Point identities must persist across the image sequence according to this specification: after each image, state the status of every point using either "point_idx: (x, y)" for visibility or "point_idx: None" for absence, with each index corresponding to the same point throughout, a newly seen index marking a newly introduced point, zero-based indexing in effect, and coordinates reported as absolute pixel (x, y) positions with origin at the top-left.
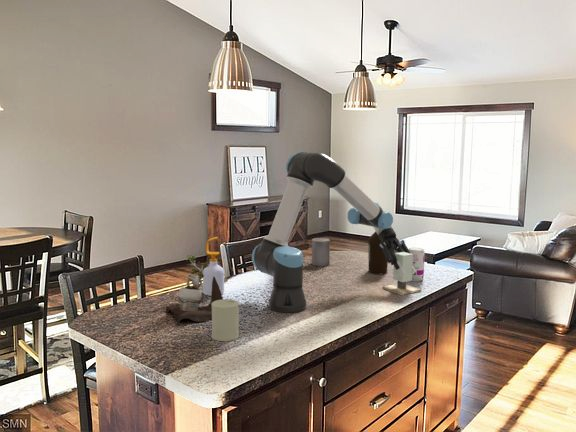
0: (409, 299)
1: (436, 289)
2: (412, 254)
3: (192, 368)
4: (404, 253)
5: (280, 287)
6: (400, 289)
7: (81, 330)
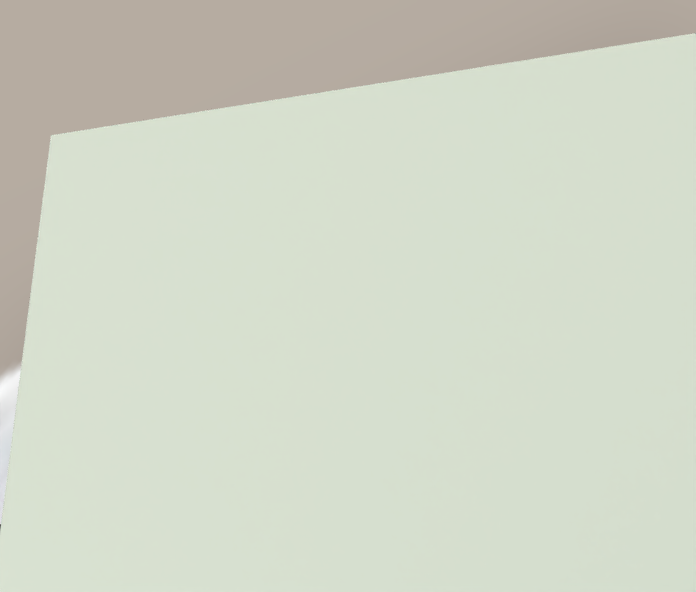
0: None
1: (11, 388)
2: (96, 129)
3: None
4: (371, 527)
5: None
6: None
7: None
